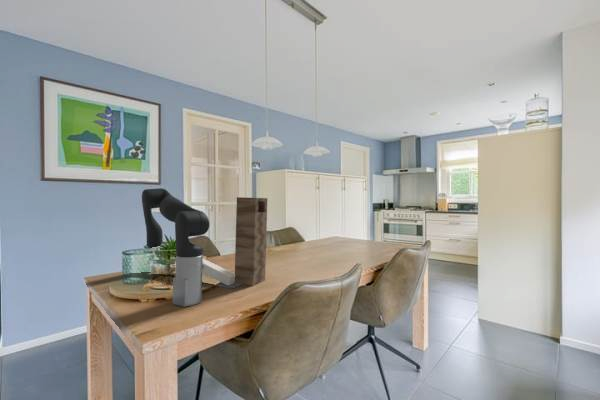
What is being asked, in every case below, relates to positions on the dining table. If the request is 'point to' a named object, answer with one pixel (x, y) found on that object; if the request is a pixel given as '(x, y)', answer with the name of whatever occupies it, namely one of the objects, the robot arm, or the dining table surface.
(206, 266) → the plug bar
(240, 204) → the socket tower
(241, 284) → the mat
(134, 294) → the dining table surface
